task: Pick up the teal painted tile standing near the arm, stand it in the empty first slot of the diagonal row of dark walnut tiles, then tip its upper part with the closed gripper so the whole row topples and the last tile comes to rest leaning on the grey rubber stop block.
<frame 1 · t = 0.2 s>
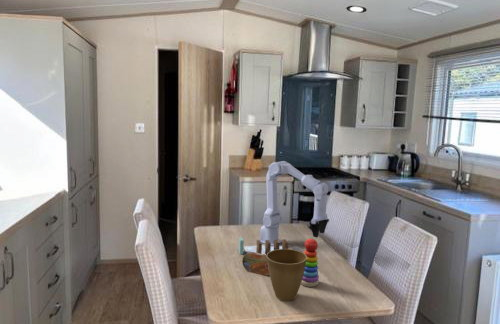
hand: (318, 235, 184), 10 cm above the table, tool pointing down, fingers open, 7 cm apart
stacking toy: (308, 283, 154), on the table
domino 5: (284, 254, 184), on the table
domino 2: (258, 255, 182), on the table
domino 3: (267, 255, 182), on the table
domino 4: (276, 255, 183), on the table
plant pot: (284, 296, 142), on the table
stop block: (296, 254, 185), on the table
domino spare: (240, 252, 186), on the table
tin: (258, 272, 163), on the table
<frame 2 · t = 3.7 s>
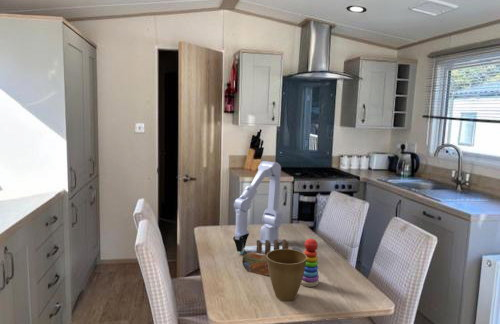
hand: (241, 249, 185), 2 cm above the table, tool pointing down, fingers closed on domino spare, 5 cm apart
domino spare: (240, 252, 186), on the table, touching gripper
everything else where it was.
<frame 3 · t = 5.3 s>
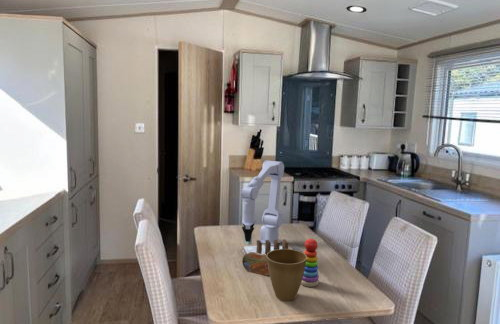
hand: (248, 239, 180), 8 cm above the table, tool pointing down, fingers closed on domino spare, 5 cm apart
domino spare: (247, 242, 180), point 7 cm above the table, touching gripper
everything else where it was.
when the fingers open (2 cm above the table, at t = 7.3 s): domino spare stays where it is, on the table.
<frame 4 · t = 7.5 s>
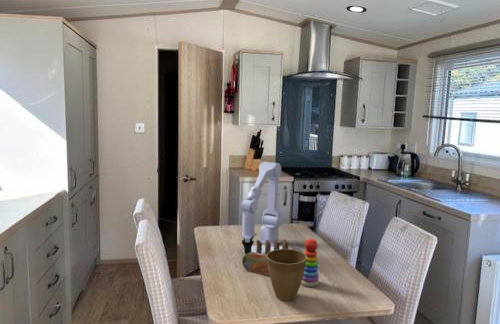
hand: (247, 251, 181), 2 cm above the table, tool pointing down, fingers open, 7 cm apart
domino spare: (247, 256, 181), on the table
everything else where it was.
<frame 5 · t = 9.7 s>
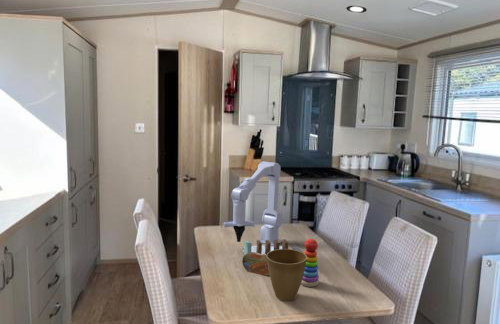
hand: (238, 241, 179), 8 cm above the table, tool pointing down, fingers closed
nothing on the table moved.
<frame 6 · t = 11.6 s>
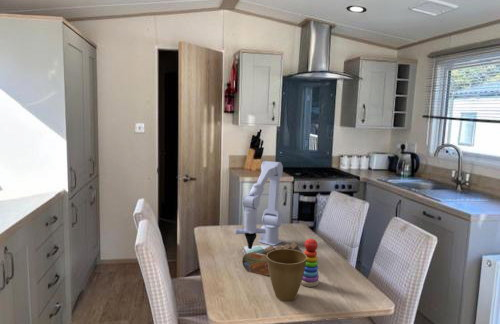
hand: (249, 248, 180), 4 cm above the table, tool pointing down, fingers closed
domino 5: (285, 253, 184), point 1 cm above the table, tilted 54°, touching domino 4, stop block
domino 2: (260, 254, 182), point 1 cm above the table, tilted 66°, touching domino 3, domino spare
domino 3: (269, 254, 183), point 1 cm above the table, tilted 64°, touching domino 2, domino 4
domino 4: (277, 253, 183), point 1 cm above the table, tilted 60°, touching domino 3, domino 5
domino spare: (249, 254, 181), point 1 cm above the table, tilted 71°, touching domino 2
everything else where it was.
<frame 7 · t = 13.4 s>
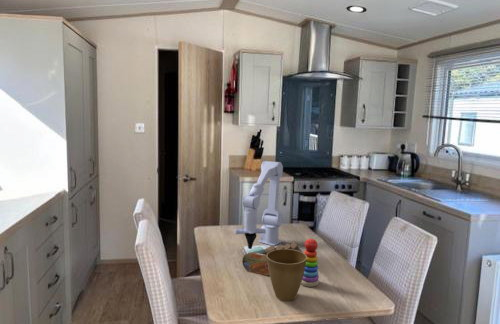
hand: (249, 248, 180), 4 cm above the table, tool pointing down, fingers closed
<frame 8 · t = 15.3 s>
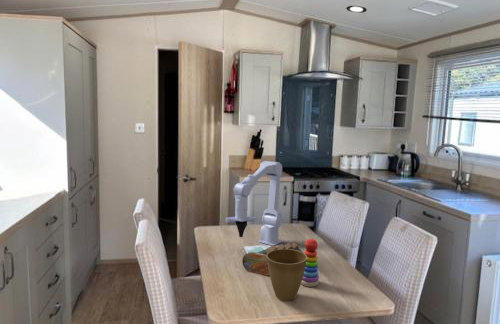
hand: (240, 236, 179), 10 cm above the table, tool pointing down, fingers closed
at the end: domino 5 tilted 54°; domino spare tilted 75° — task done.
